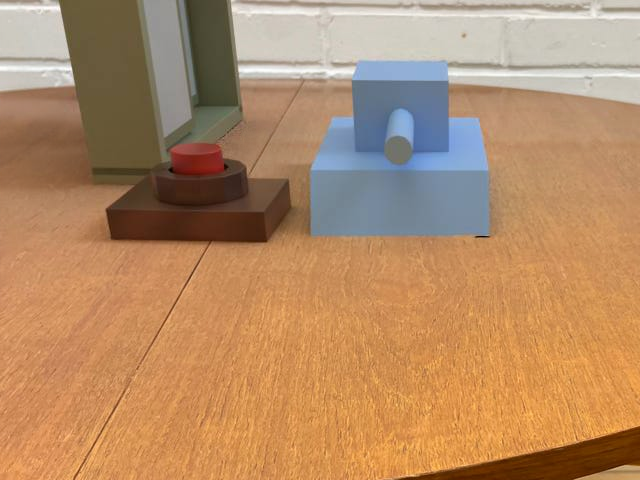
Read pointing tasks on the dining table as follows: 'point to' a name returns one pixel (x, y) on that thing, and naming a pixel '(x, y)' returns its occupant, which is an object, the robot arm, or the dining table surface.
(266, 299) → the dining table surface
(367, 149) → the toy tank
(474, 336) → the dining table surface
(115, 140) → the window frame
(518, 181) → the dining table surface
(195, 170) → the button
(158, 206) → the button block
